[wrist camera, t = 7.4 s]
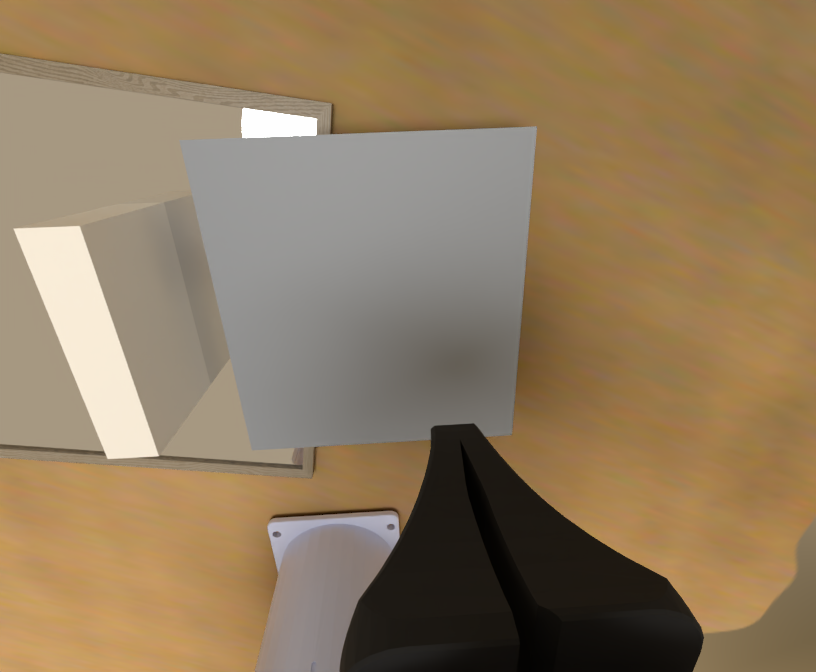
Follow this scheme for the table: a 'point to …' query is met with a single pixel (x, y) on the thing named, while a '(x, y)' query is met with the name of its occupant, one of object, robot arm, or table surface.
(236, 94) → the picture frame
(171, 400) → the tile
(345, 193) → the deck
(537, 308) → the table surface
